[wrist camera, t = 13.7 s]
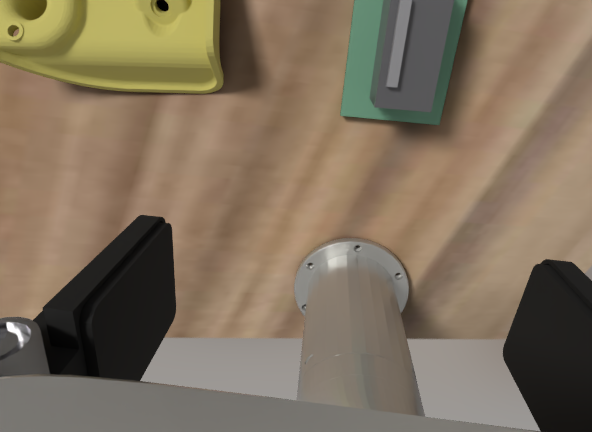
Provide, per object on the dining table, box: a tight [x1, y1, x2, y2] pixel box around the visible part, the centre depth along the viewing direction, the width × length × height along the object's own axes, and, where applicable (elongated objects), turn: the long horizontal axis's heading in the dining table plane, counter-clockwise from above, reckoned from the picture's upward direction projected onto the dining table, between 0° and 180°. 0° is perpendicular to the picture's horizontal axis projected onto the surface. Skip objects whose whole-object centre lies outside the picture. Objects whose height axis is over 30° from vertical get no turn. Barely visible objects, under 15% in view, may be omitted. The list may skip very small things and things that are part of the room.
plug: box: [369, 0, 454, 112], centre depth 32 cm, size 9×4×6 cm, turn 176°
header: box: [340, 0, 467, 125], centre depth 34 cm, size 12×9×4 cm
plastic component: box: [0, 0, 224, 94], centre depth 35 cm, size 20×7×10 cm
